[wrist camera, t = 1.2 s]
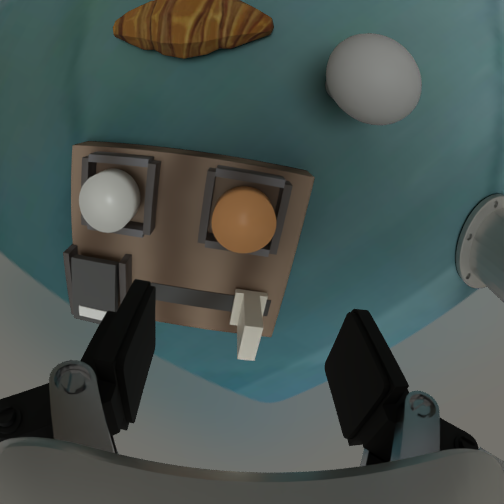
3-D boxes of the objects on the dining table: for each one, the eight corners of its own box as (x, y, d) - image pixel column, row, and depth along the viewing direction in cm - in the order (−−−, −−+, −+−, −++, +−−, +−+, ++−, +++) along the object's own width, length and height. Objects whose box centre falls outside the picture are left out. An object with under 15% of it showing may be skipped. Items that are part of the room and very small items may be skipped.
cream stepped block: (267, 293, 27) (272, 328, 22) (259, 324, 28) (262, 361, 24) (235, 288, 27) (235, 324, 22) (229, 320, 28) (228, 357, 24)
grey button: (142, 171, 20) (134, 176, 19) (138, 227, 22) (131, 236, 21) (90, 166, 20) (79, 171, 18) (89, 220, 22) (79, 228, 20)
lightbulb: (334, 134, 24) (393, 150, 14) (286, 82, 22) (320, 60, 12) (381, 94, 23) (456, 91, 13) (336, 42, 21) (394, 6, 11)
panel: (306, 170, 26) (320, 182, 21) (268, 318, 32) (272, 349, 28) (87, 140, 23) (61, 148, 19) (89, 289, 30) (71, 315, 26)
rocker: (119, 262, 24) (115, 266, 23) (118, 322, 26) (114, 328, 25) (76, 254, 24) (70, 257, 23) (78, 313, 26) (73, 318, 24)
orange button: (279, 192, 22) (282, 198, 20) (266, 247, 23) (269, 257, 22) (218, 181, 21) (216, 187, 20) (209, 238, 23) (207, 248, 21)
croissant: (115, 67, 21) (90, 60, 17) (124, 3, 18) (103, -15, 14) (268, 67, 22) (275, 56, 18) (275, 0, 19) (282, -22, 15)
